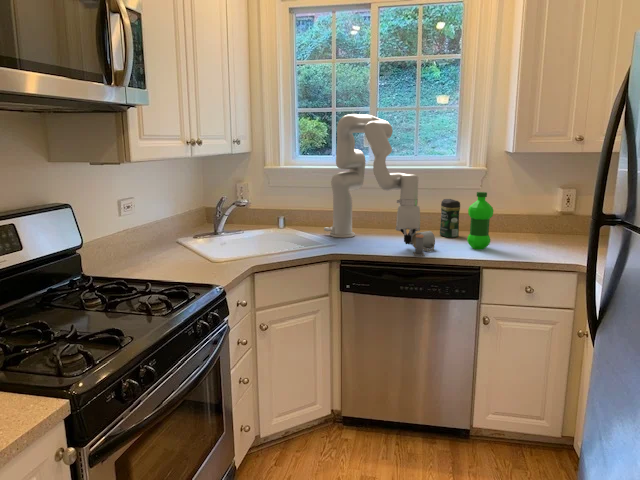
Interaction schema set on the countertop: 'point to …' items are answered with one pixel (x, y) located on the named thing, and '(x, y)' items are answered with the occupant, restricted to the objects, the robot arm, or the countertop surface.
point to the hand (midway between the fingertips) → (407, 243)
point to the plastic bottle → (480, 222)
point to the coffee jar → (450, 218)
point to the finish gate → (418, 245)
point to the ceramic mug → (425, 240)
